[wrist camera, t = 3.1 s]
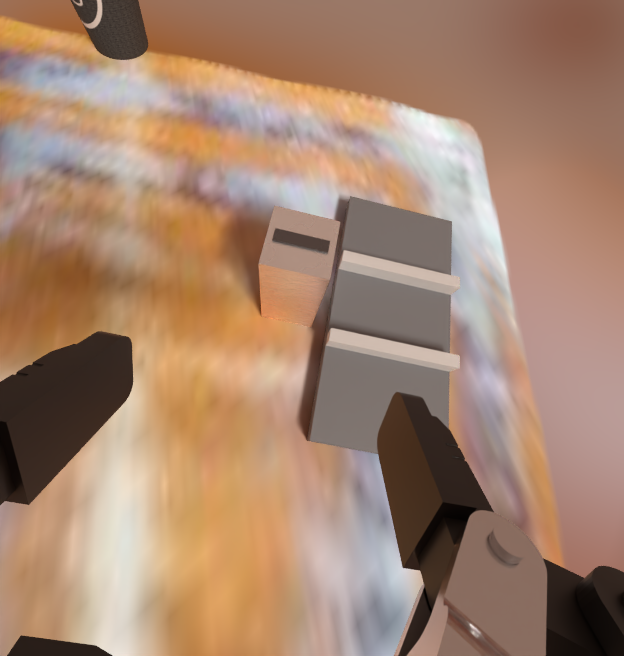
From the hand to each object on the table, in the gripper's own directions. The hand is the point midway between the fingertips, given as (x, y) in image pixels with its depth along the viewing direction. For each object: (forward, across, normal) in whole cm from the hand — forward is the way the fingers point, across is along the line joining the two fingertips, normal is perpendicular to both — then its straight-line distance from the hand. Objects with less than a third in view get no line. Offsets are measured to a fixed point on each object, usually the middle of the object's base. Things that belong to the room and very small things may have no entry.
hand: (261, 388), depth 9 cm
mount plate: (+22, -10, +5) cm, 24 cm away
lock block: (+22, 0, +5) cm, 22 cm away
